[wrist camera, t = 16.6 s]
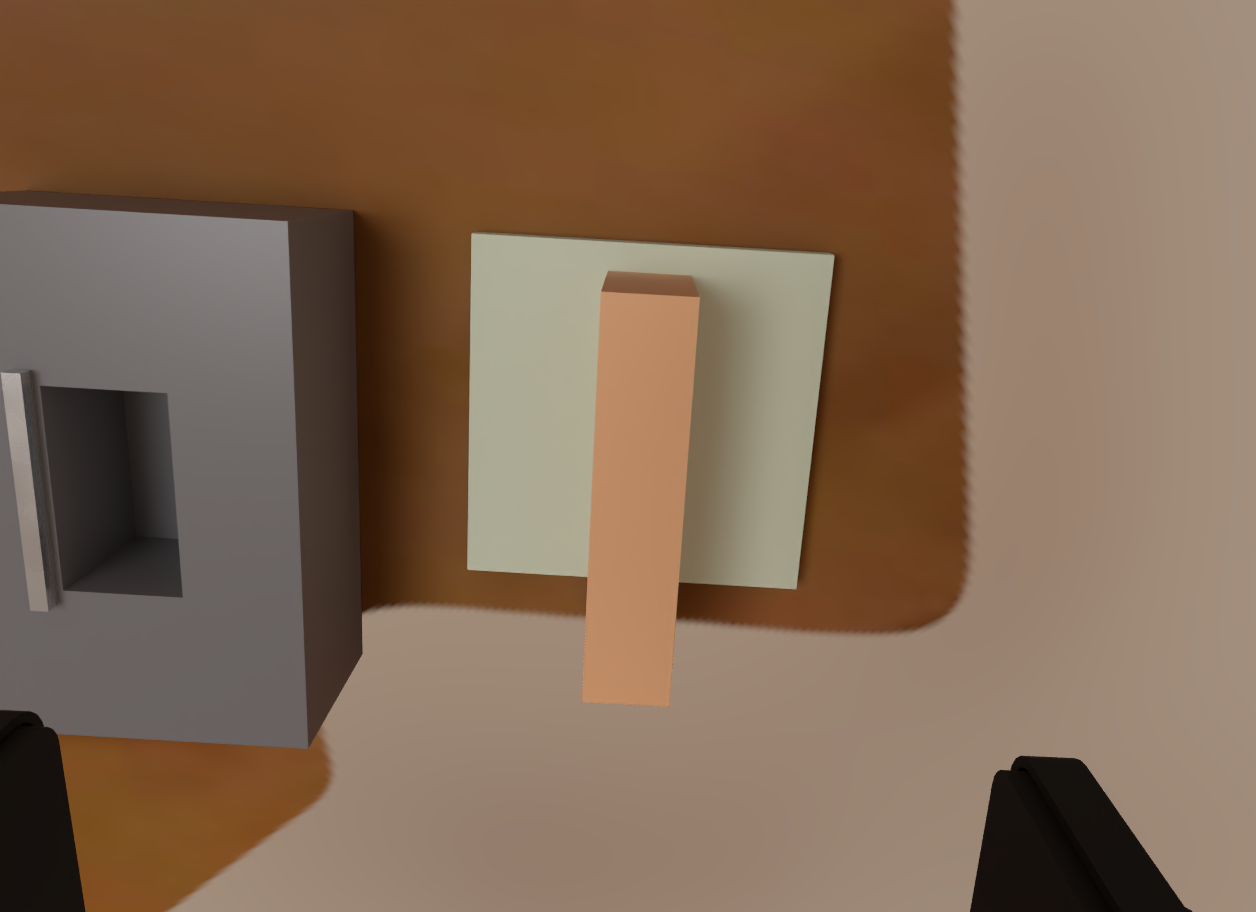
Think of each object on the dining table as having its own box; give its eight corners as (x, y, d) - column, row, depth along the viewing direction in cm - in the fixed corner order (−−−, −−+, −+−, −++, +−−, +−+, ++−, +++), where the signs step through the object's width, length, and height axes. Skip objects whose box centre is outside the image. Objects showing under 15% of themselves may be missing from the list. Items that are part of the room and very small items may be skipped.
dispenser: (353, 210, 36) (280, 222, 29) (362, 653, 42) (302, 758, 34) (25, 190, 36) (-130, 197, 29) (74, 636, 41) (-47, 738, 34)
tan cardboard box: (700, 297, 30) (669, 707, 34) (690, 275, 36) (665, 628, 40) (600, 291, 30) (581, 702, 34) (608, 270, 36) (591, 623, 40)
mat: (829, 252, 37) (834, 255, 36) (792, 578, 40) (796, 589, 39) (475, 231, 37) (471, 233, 36) (471, 559, 40) (467, 569, 39)
